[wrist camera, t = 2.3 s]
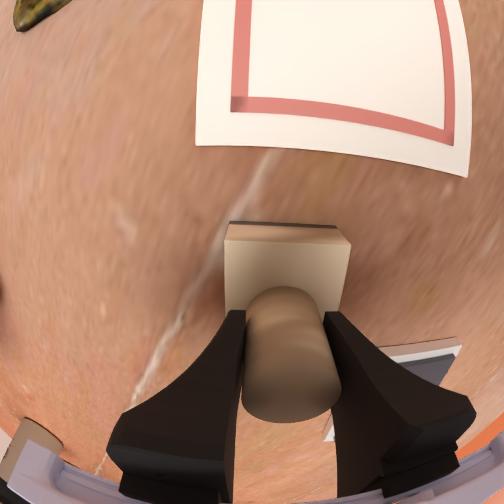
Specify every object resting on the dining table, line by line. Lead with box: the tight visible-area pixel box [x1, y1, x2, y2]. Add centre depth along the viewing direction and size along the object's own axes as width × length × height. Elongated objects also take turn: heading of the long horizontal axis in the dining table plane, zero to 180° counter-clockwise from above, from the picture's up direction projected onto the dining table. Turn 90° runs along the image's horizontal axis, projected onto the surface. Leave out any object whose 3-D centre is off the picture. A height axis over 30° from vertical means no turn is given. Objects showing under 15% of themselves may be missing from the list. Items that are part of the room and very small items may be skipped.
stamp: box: [224, 221, 351, 423], centre depth 11 cm, size 5×7×7 cm
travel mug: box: [0, 418, 63, 504], centre depth 18 cm, size 8×8×18 cm
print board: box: [196, 0, 472, 178], centre depth 8 cm, size 14×14×1 cm
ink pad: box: [323, 337, 462, 442], centre depth 17 cm, size 9×11×2 cm
